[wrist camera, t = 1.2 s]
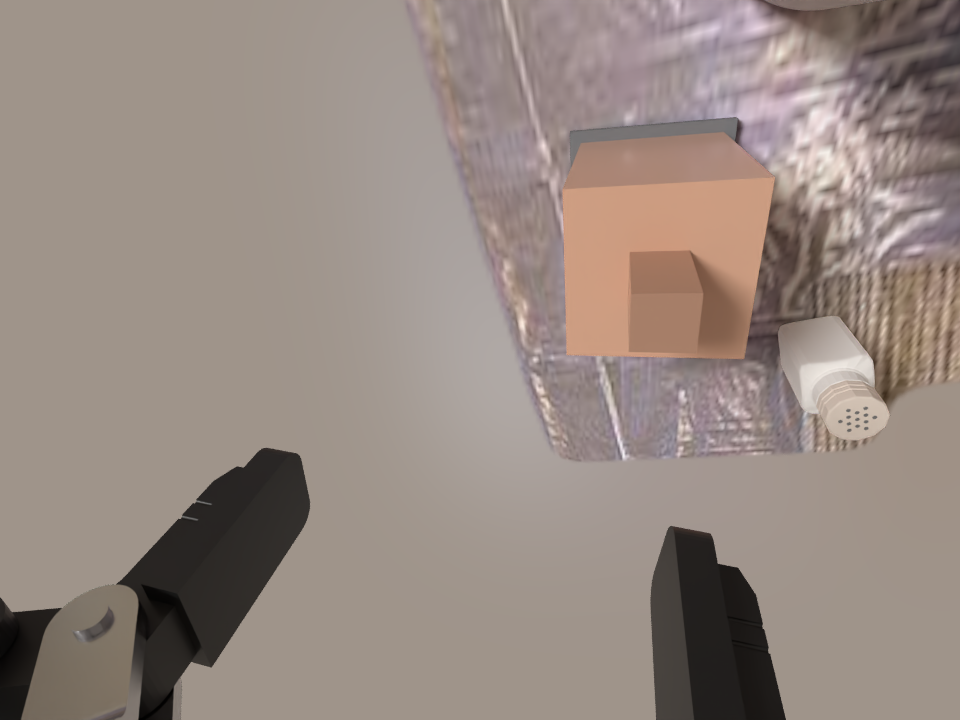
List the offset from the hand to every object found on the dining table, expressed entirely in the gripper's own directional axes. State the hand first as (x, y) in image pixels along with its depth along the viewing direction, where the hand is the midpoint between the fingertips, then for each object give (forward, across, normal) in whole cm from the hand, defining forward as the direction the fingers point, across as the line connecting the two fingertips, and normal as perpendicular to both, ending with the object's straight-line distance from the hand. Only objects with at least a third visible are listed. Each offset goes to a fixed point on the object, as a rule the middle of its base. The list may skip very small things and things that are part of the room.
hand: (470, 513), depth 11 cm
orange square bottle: (+29, -5, +1) cm, 30 cm away
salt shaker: (+30, -18, +10) cm, 36 cm away
